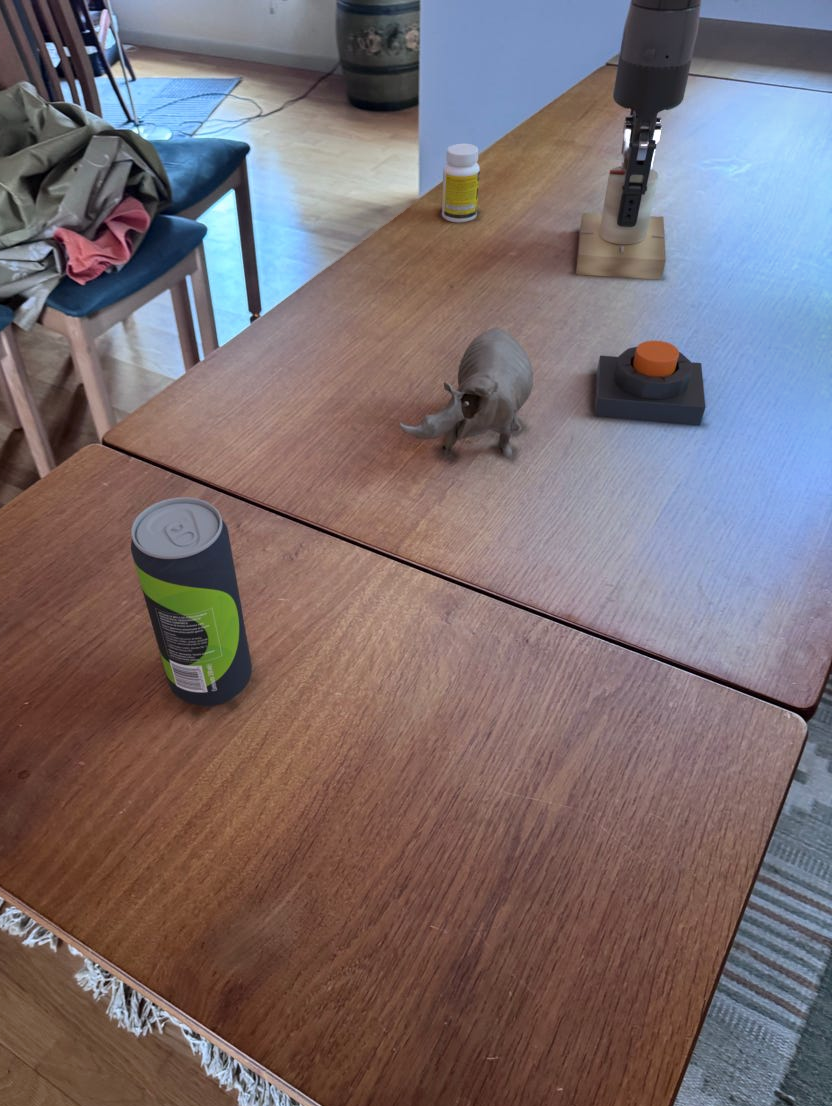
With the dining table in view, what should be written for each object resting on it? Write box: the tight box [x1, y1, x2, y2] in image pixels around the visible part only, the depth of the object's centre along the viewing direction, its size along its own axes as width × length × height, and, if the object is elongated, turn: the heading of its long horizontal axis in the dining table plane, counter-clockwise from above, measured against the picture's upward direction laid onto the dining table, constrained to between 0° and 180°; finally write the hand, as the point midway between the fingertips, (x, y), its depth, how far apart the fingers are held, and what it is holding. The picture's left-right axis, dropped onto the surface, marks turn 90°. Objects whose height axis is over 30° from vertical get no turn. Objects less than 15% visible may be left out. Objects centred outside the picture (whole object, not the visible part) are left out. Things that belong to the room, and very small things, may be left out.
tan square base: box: [575, 212, 667, 280], centre depth 111 cm, size 10×12×3 cm
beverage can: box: [130, 496, 253, 707], centre depth 62 cm, size 6×6×15 cm
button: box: [633, 340, 680, 377], centre depth 88 cm, size 4×4×2 cm
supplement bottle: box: [441, 143, 481, 224], centre depth 119 cm, size 5×5×8 cm
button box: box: [594, 346, 706, 427], centre depth 89 cm, size 10×8×4 cm
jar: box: [599, 165, 659, 245], centre depth 108 cm, size 6×6×7 cm
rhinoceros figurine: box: [398, 327, 534, 459], centre depth 84 cm, size 8×14×15 cm
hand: (626, 213), depth 109 cm, fingers closed on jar, 5 cm apart
